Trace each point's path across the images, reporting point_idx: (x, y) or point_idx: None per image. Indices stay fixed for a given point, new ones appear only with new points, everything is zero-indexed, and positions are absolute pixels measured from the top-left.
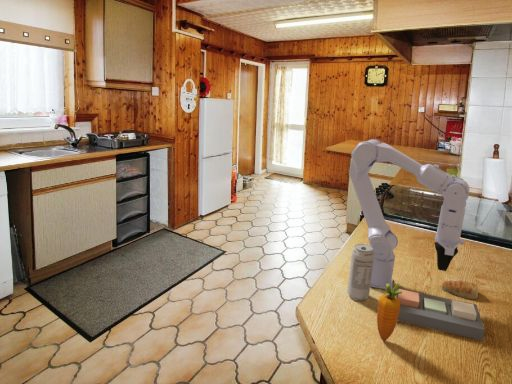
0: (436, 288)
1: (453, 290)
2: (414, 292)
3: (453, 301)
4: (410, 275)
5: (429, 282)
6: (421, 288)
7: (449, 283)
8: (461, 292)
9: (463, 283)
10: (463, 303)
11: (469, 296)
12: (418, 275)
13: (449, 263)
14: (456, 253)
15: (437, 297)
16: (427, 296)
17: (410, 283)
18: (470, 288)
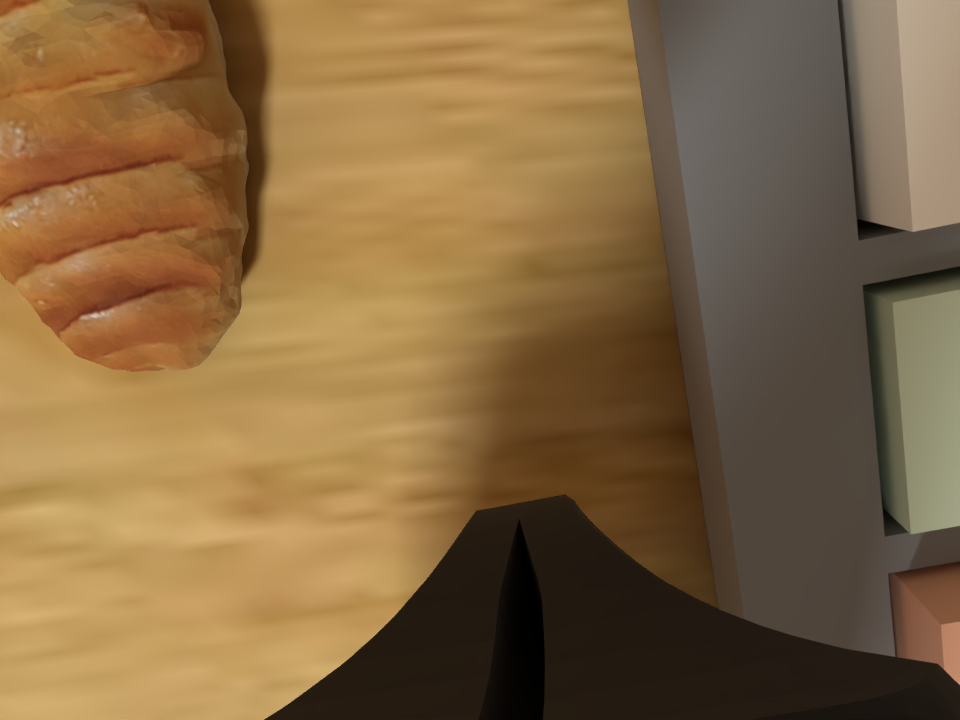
0: (228, 405)
1: (239, 228)
2: (952, 667)
3: (949, 204)
4: (106, 692)
5: (127, 494)
6: (351, 544)
7: (150, 302)
8: (239, 129)
9: (81, 128)
10: (941, 67)
11: (213, 25)
12: (35, 622)
13: (623, 554)
14: (957, 692)
15: (745, 391)
16: (790, 497)
17: (311, 658)
18: (148, 19)
